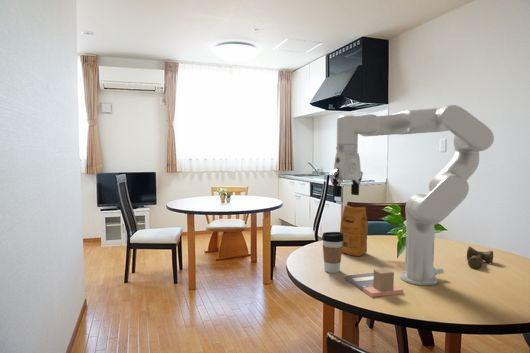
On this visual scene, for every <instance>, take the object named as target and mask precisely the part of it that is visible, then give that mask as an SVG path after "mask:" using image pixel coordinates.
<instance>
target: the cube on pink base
mask: <svg viewBox="0 0 530 353" xmlns="http://www.w3.org/2000/svg"><path fill="white" fill-rule="evenodd" d="M373 273H374V277H373V287H365V288H363V291H362V292H364V293H365V294H366V295H368V296H369V297H370V298H375V297H376V298H377V297H381V296H391V295H399V294H403V293H404V289H403V288H401V287H400V286H399V285H398V286H397V285H396V284H394V279H395V271H392V270H391V269H388V268H387V267H386V268H379V269H373Z"/></svg>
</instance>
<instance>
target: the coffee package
mask: <svg viewBox="0 0 530 353" xmlns="http://www.w3.org/2000/svg"><path fill="white" fill-rule="evenodd" d="M342 211H343V212H342V217H341V222H340V225H339V226H340V229H339V232H341V233H343V238H344V239H343V241H342V254H347V256H354V257H360V256H362V255H364V254H366V253H368V242H367V240H368V231H369V230H368V228H369V223H368V217H367V213H366V212H367V208H366V207H356V206H355V207H353V206H350V205H346V204H345V205H344V208H343V210H342Z"/></svg>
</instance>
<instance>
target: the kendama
mask: <svg viewBox="0 0 530 353" xmlns="http://www.w3.org/2000/svg"><path fill="white" fill-rule="evenodd" d="M466 259H467V265H468V267H469V268H471V269H473V268H474V270H481V268H483V263H484V262H486V263H487V264H489V263H492V264H493V262H494V261H493V260H494V251H493V250H488V251H479V250H476V249H475V248H473V247H472V246H471V245H470V246H468V247H467V251H466Z"/></svg>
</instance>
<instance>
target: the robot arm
mask: <svg viewBox="0 0 530 353" xmlns="http://www.w3.org/2000/svg"><path fill="white" fill-rule="evenodd" d="M442 132H451V133H452V135H454V137H453V146H454V153H453V156H452V158H451V160H449V161H448V163H447V164H446V165H445V166H444V167H443V168H442V169H441V170H440V171H439V172H438V173H437V174H435V176H433V177H432V178H431V180H430V182H429V183H428V191H429V193H428V194H423V193H416V194H413V195H411V196H410V197H409V198H408V199H407V201H406V203H405V209H404V210H405V223H406V224H405V225H406V226H405V227H406V230H405V231H406V232H405V233H406V234H405V257H404V258H405V260H404V271H401V273H400V276H399V277H400V280H402V281H404V282H406V283H410V284H413V285H418V286H433V285H437V284H438V280H439V279H438V278H437V277H436V276H437V274H438V275H441V274H444V269H443V267H441V268H440V267H439V268H436V267H434V260H435V258H434V256H435V254H434V253H435V235H436V232H435V231H436V230H435V225H437V224H440V223H441V222H442V221H443V220H445V219H446V218H448V216H449V215H450V214H452V212H453V211H455V209H456V208H457V207H458V206H459V205H460V204H461V203H463V201H465V199H466V198H467V196H468V194H469V191H470V190H469V189H470V186H469V183H468V180H469V179H470V177H472V176H473V175H474V173H475V172H476V171H477V169H478V167H479V164H480V152H484V151H486V150H488V149H490V148H491V147H492V145H493V144H494V142H495V135H494V133H493V131H492V130H491V128H490V127H488V126H487V125H486V124H485V123H483V122H482V121H481V120H479V119H478V117H475V116H474V115H473V114H471V112H469V111H467V110H466V109H465V108H463V107H461V106H459V105H456V104H449V105H446V106H442V107H433V108H424V109H422V108H421V109H409V110H404V111H400V112H397V113H396V112H395V113H391V114H386V115H385V114H384V115H376V114H373V113H369V114H368V113H367V114H362V115H360V114H359V115H353V114H352V115H351V114H349V115H346V114H345V115H340V116H338V118H337V119H336V147H335V149H336V153H335V157H334V165H333V170H332V171H331V172H330V173H329V174H328V176H329V179H330V183H331V185H332V186H333V197H336V198H342V185H341V184H343V181H346V182H348V181H350V182H351V188H350V189H351V190H350V192H351V195H352V196H359V194H360V185H361V182H362V180H363V175H364V172H363V171H361V170H362V169H361V159H360V153H358V151H359V150H358V149H359V146H358V145H359V141H358V140H359V135H360V136H361V137H378V136H390V135H391V136H392V135H399V136H400V135H412V134H413V135H414V134H425V133H429V134H430V133H442Z"/></svg>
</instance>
